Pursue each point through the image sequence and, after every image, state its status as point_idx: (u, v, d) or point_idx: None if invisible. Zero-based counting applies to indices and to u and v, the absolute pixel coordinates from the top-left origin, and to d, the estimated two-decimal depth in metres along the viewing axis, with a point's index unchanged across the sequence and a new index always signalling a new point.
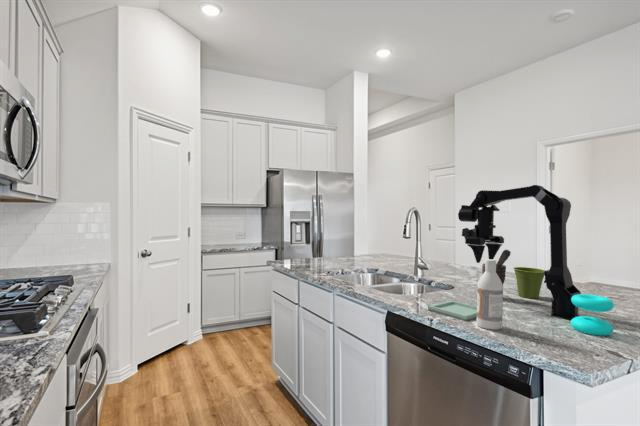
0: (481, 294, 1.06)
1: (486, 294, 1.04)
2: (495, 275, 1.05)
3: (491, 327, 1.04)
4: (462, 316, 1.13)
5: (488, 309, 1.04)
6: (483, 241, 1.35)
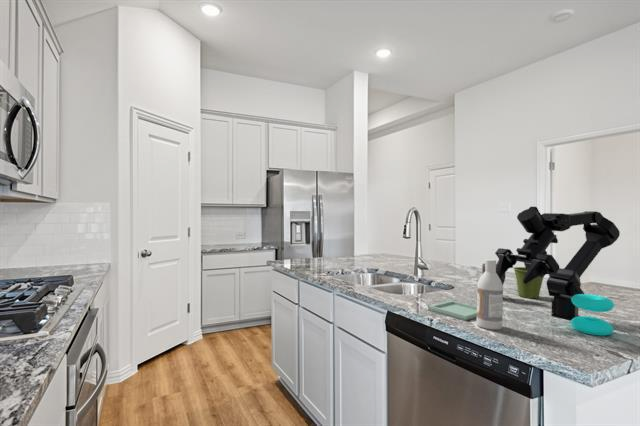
0: (481, 294, 1.06)
1: (486, 294, 1.04)
2: (495, 275, 1.05)
3: (491, 327, 1.04)
4: (462, 316, 1.13)
5: (488, 309, 1.04)
6: (502, 250, 1.18)
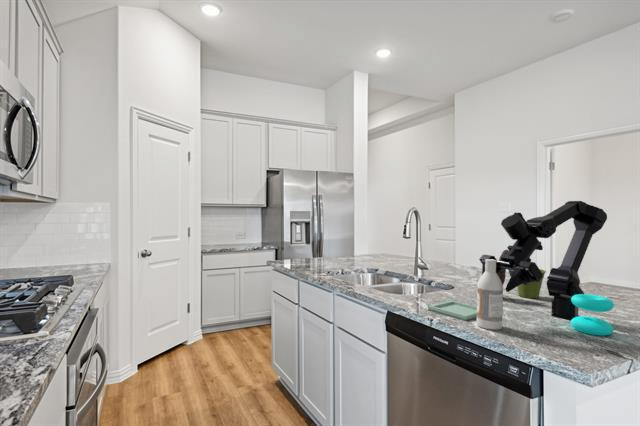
0: (481, 294, 1.06)
1: (486, 294, 1.04)
2: (495, 275, 1.05)
3: (491, 327, 1.04)
4: (462, 316, 1.13)
5: (488, 309, 1.04)
6: (486, 256, 1.15)
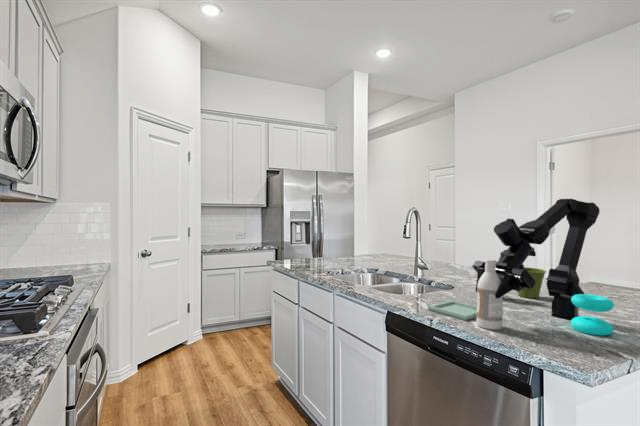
0: (481, 294, 1.06)
1: (486, 294, 1.04)
2: (495, 275, 1.05)
3: (491, 327, 1.04)
4: (462, 316, 1.13)
5: (488, 309, 1.04)
6: (479, 263, 1.14)
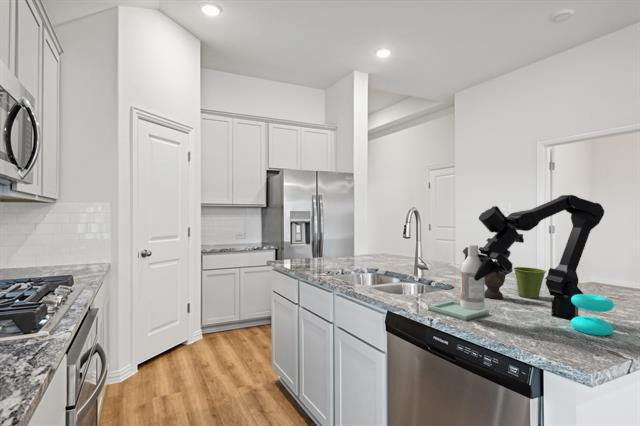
0: (462, 276, 1.13)
1: (466, 277, 1.12)
2: (476, 259, 1.12)
3: (471, 307, 1.11)
4: (462, 316, 1.13)
5: (468, 290, 1.11)
6: None
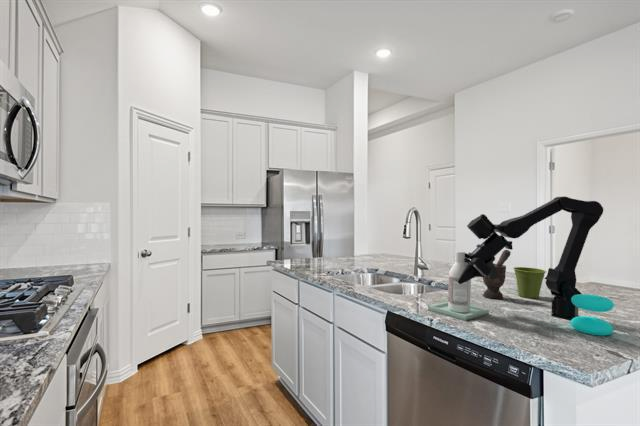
0: (449, 280, 1.22)
1: (451, 281, 1.20)
2: (461, 265, 1.20)
3: (455, 310, 1.19)
4: (462, 316, 1.13)
5: (452, 293, 1.20)
6: None
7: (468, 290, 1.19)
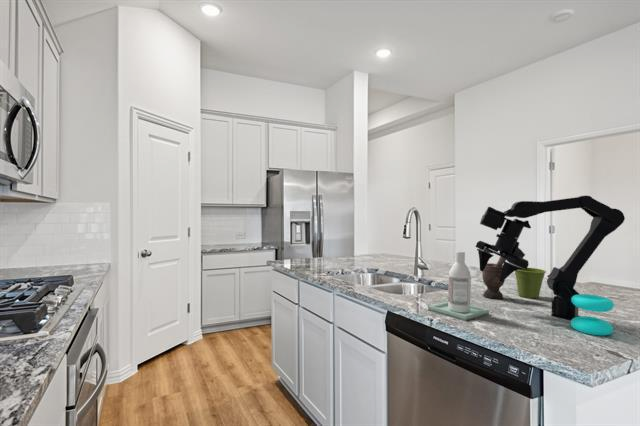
0: (449, 280, 1.22)
1: (451, 281, 1.20)
2: (461, 265, 1.20)
3: (455, 310, 1.19)
4: (462, 316, 1.13)
5: (452, 293, 1.20)
6: (480, 245, 1.30)
7: (468, 290, 1.19)
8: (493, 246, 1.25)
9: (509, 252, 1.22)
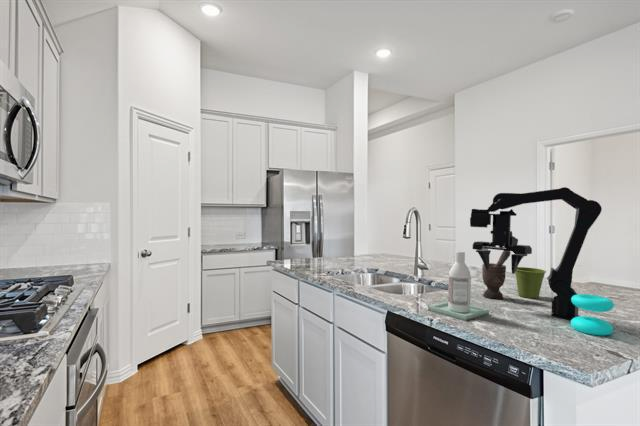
0: (449, 280, 1.22)
1: (451, 281, 1.20)
2: (461, 265, 1.20)
3: (455, 310, 1.19)
4: (462, 316, 1.13)
5: (452, 293, 1.20)
6: (478, 246, 1.32)
7: (468, 290, 1.19)
8: (492, 243, 1.28)
9: (509, 243, 1.26)
